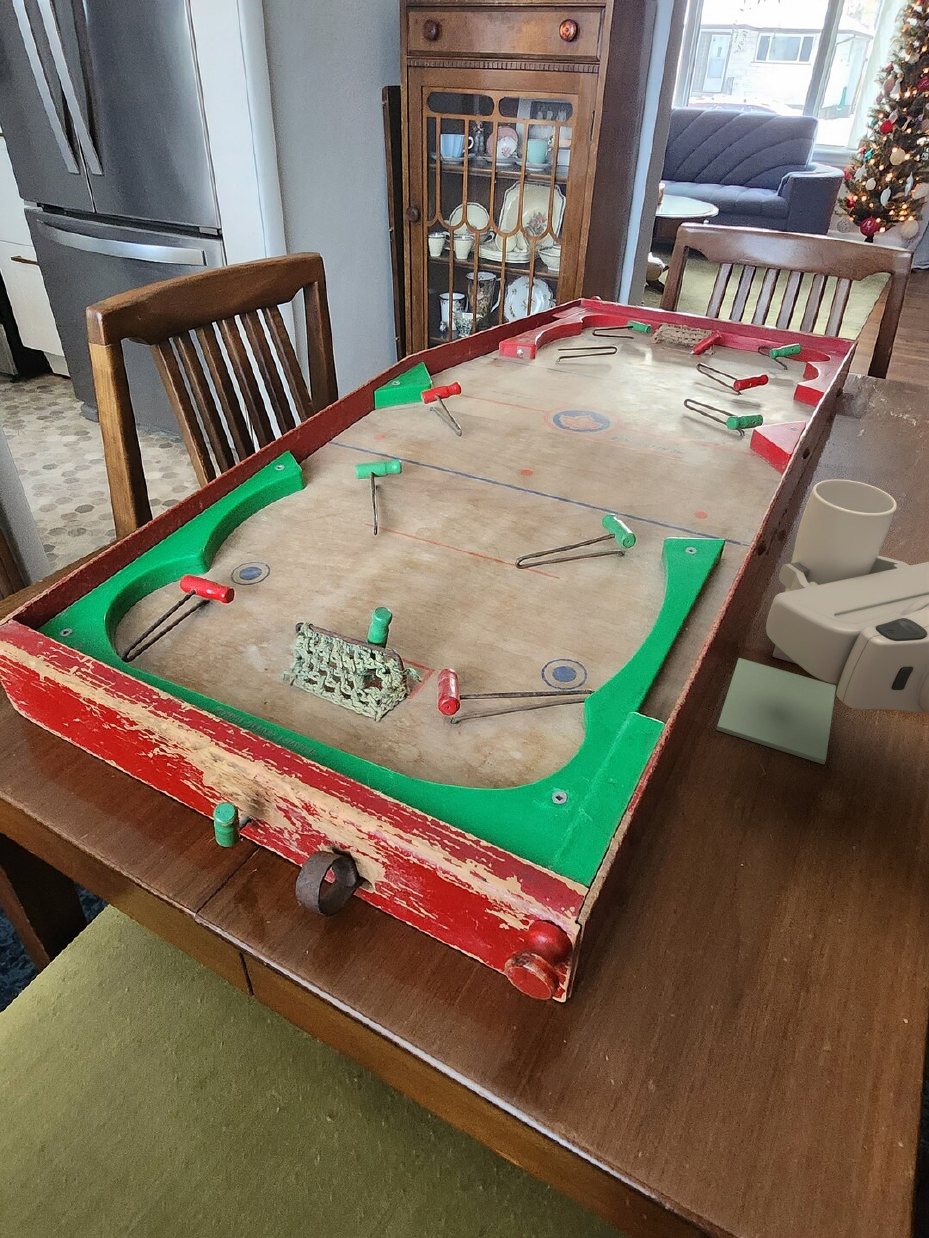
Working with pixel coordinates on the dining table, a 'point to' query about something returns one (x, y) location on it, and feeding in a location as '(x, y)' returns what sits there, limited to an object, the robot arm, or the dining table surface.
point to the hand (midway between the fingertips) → (821, 563)
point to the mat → (779, 710)
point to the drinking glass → (842, 530)
